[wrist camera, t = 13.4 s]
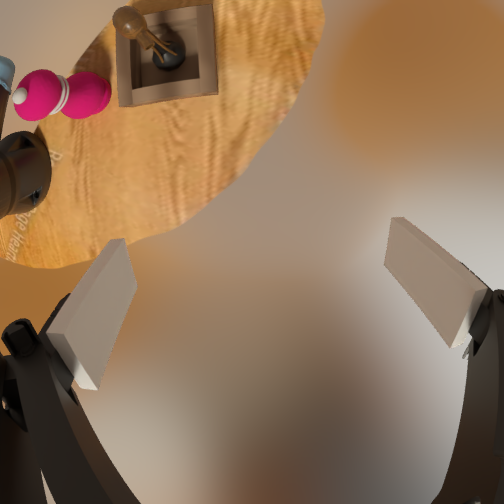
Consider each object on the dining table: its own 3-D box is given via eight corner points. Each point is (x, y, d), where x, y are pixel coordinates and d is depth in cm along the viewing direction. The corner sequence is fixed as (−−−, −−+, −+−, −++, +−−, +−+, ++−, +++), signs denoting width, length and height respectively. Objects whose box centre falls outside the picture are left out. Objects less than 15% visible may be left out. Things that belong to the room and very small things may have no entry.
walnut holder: (133, 107, 36) (119, 107, 31) (129, 32, 30) (115, 22, 25) (218, 94, 37) (216, 91, 32) (213, 17, 31) (211, 4, 26)
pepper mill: (68, 97, 34) (-15, 103, 16) (98, 65, 32) (21, 48, 14) (91, 126, 37) (12, 145, 19) (122, 94, 35) (51, 89, 17)
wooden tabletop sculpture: (195, 64, 34) (166, 25, 16) (168, 82, 34) (118, 60, 17) (174, 36, 31) (132, -15, 13) (148, 54, 32) (88, 18, 14)
